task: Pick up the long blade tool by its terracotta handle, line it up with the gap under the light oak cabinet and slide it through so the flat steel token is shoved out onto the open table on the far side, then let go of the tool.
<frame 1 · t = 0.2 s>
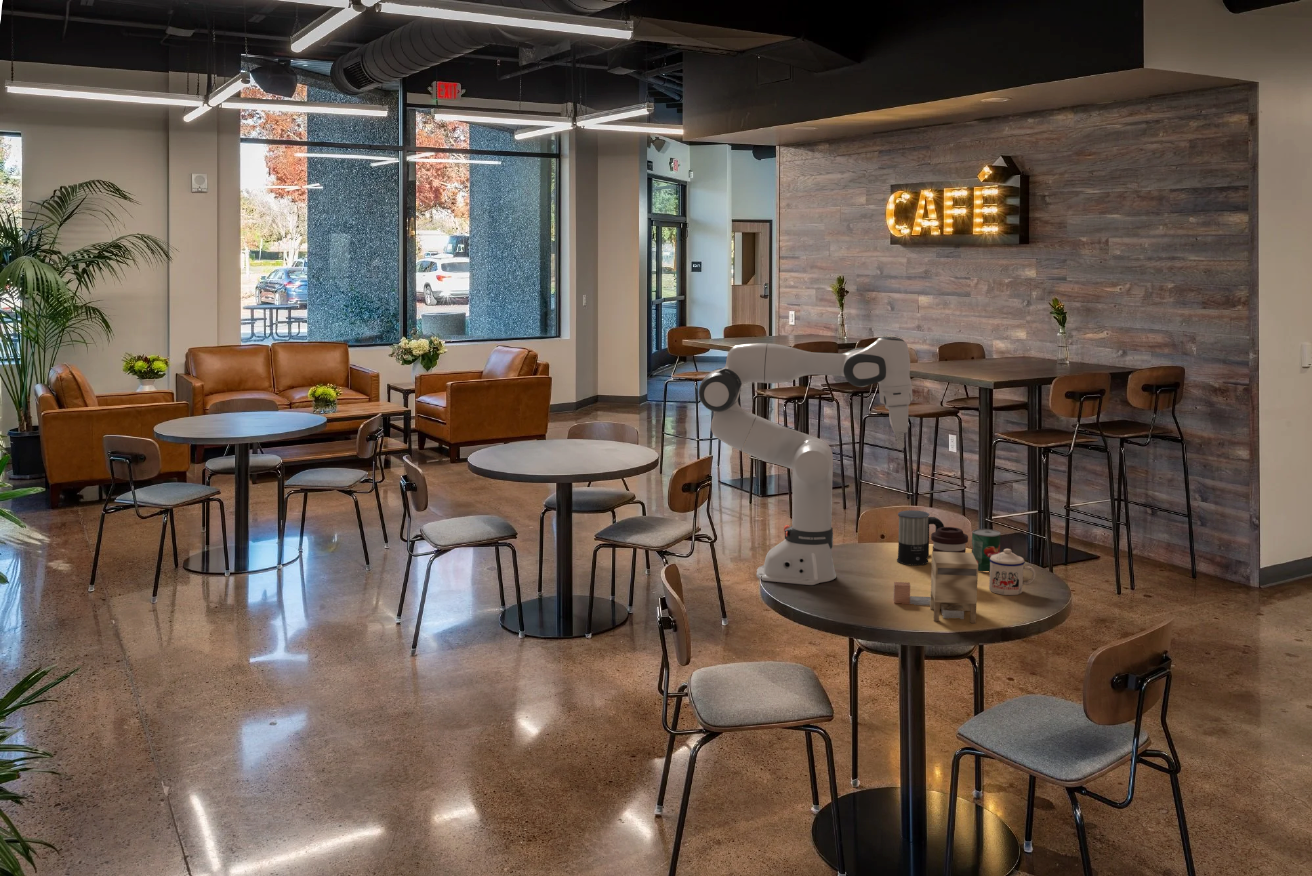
hand: (899, 445, 303), 39 cm above the table, tool pointing down, fingers open, 8 cm apart
coffee cup: (947, 582, 308), on the table
token: (952, 616, 278), on the table
blade tool: (901, 602, 289), on the table
canned tomato: (984, 569, 321), on the table
milk frother: (912, 559, 332), on the table
cabinet: (952, 615, 278), on the table
teacup with lid: (1011, 592, 299), on the table
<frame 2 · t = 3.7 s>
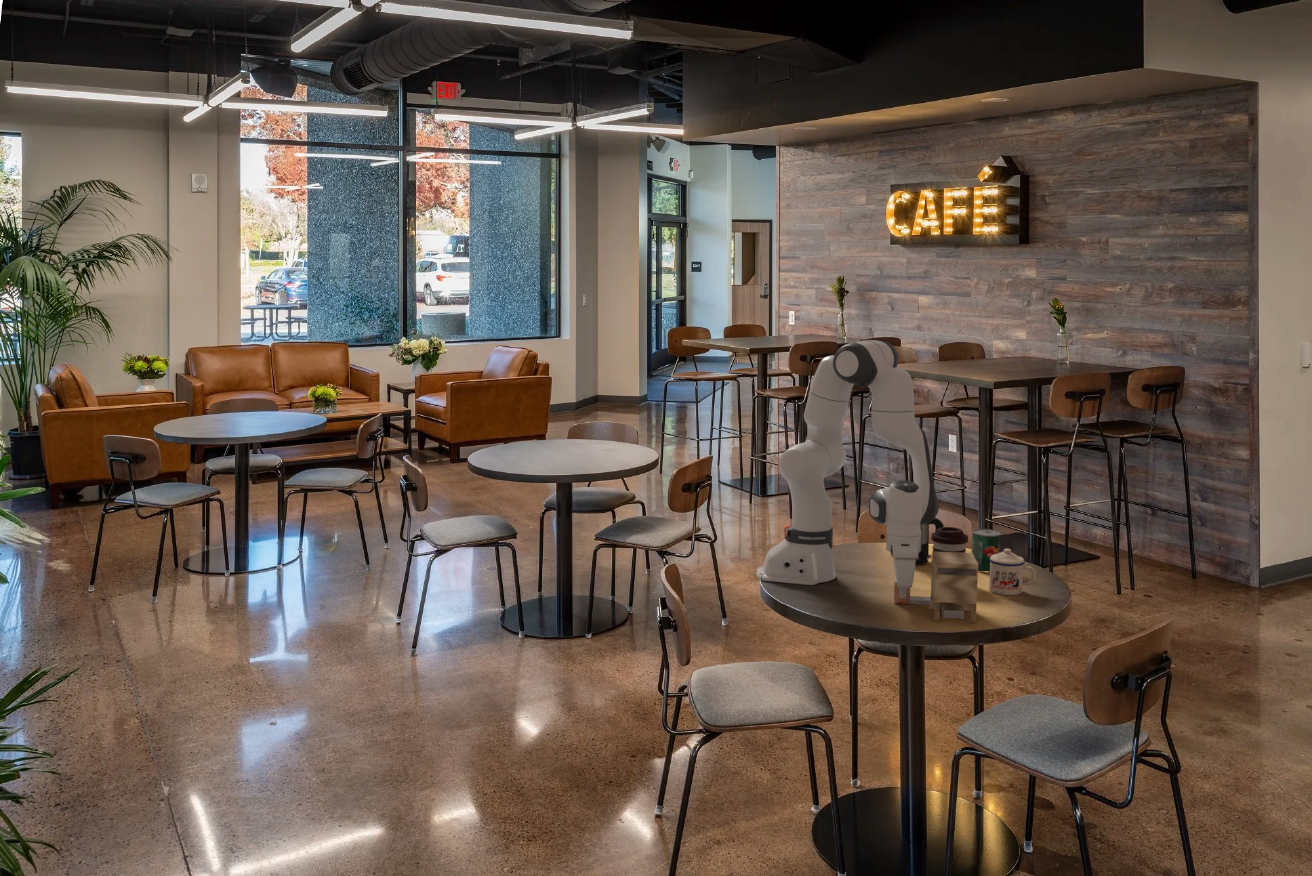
hand: (901, 595, 289), 2 cm above the table, tool pointing down, fingers closed on blade tool, 3 cm apart
blade tool: (901, 602, 289), on the table, touching gripper
everything else where it was.
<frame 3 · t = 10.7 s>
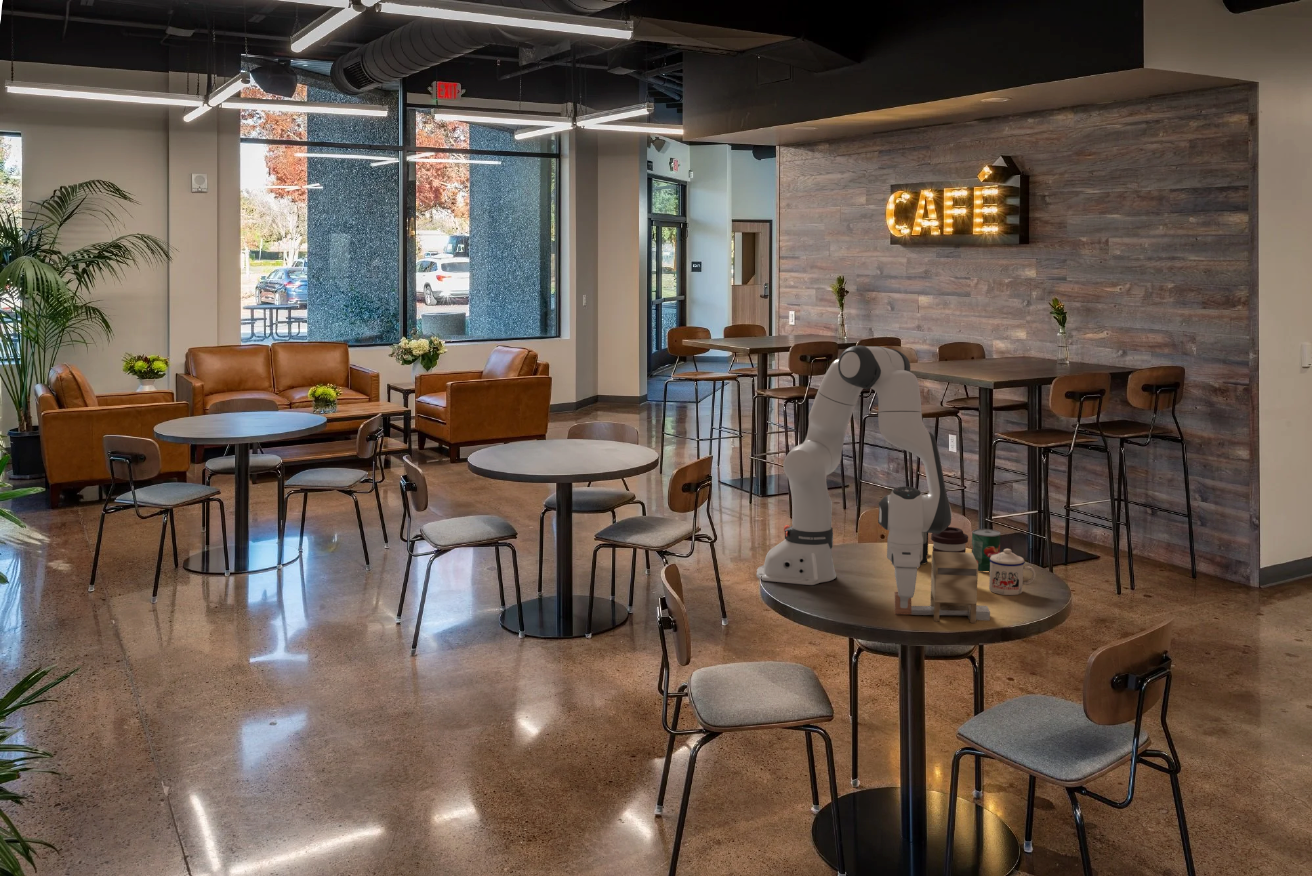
hand: (903, 604, 280), 2 cm above the table, tool pointing down, fingers closed on blade tool, 3 cm apart
token: (978, 617, 277), on the table
blade tool: (903, 612, 280), on the table, touching gripper
everything else where it was.
when the fingers open (2 cm above the table, at t = 13.7 s): blade tool stays where it is, on the table.
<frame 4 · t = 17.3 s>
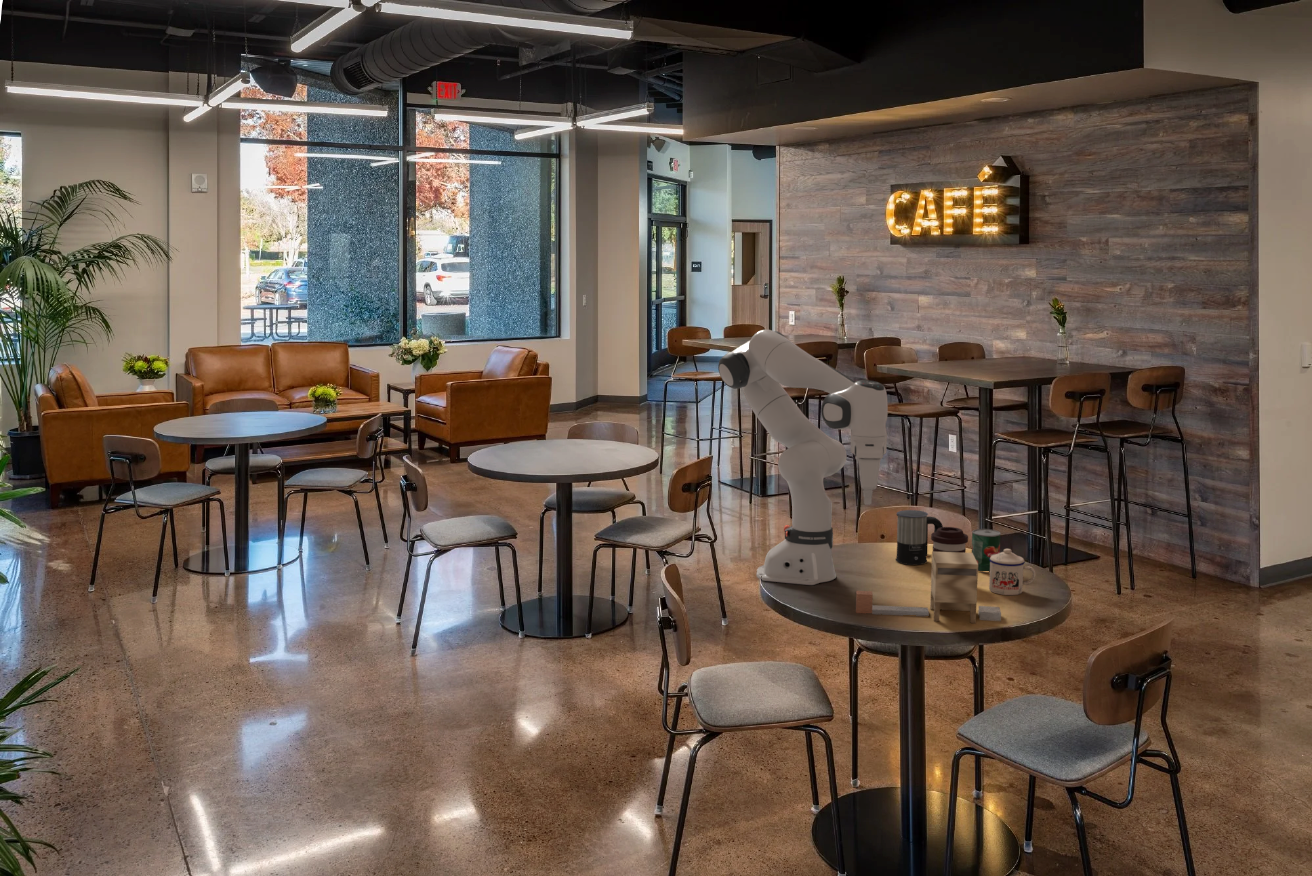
hand: (867, 500, 277), 29 cm above the table, tool pointing down, fingers open, 8 cm apart
token: (989, 618, 277), on the table
blade tool: (863, 611, 282), on the table
everything else where it was.
at the end: token inside the target area (6.0 cm from its centre), on the table; the gripper is holding nothing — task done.
